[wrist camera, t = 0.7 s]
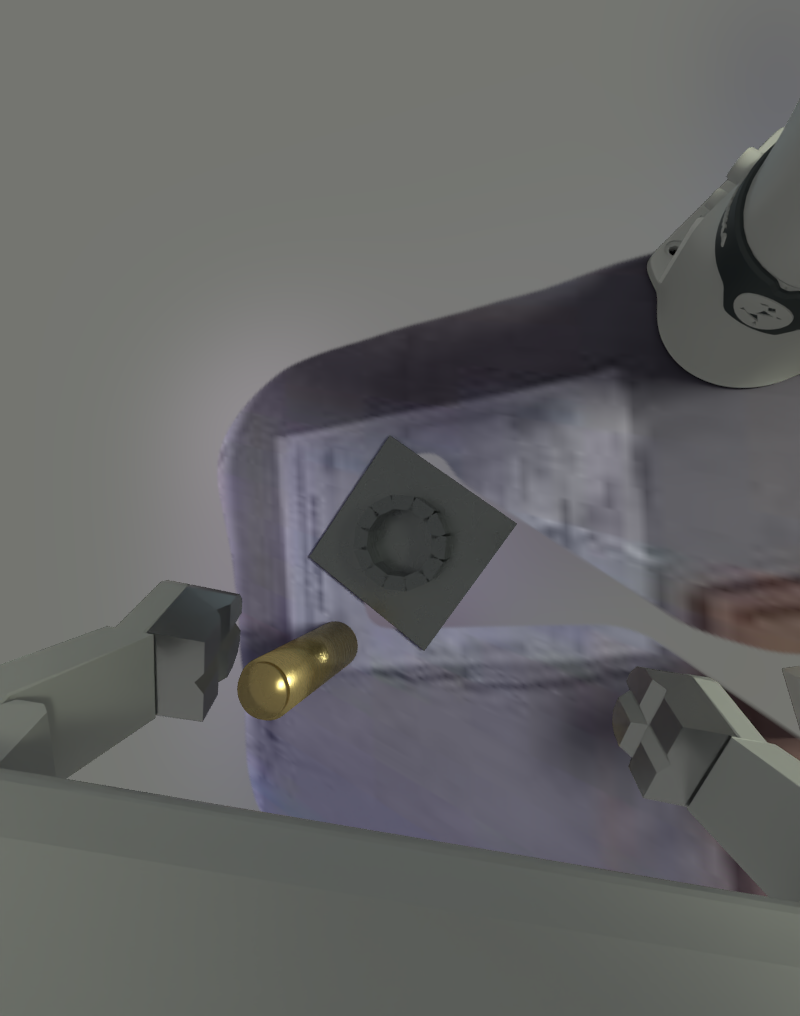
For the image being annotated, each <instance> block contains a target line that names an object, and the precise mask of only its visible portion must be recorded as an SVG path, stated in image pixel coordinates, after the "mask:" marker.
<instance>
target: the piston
mask: <svg viewBox="0 0 800 1016" xmlns="http://www.w3.org/2000/svg"><path fill="white" fill-rule="evenodd" d="M357 648H358V644H357V639H356V636H355V634H354V632H353V631H352V630H351V628H350V627H348V626H347V625H346V624H344V623H341V622H336V621H335V622H329V623H327V624H325V625H323V626H321V627H319V628H317V629H315V630H313V631H311V632H309V633H307V634H305V635H303V636H301V637H299V638H297V639H294V640H292V641H290V642H288V643H286V644H284V645H282V646H280V647H278V648H276V649H274V650H272V651H270V652H268V653H266V654H264V655H262V656H260V657H258V658H256V659H254V660H252V661H251V662H249V663H248V664H247V665H246V666H245V668H244V669H243V671H242V673H241V675H240V678H239V682H238V688H237V690H238V697H239V700H240V703H241V704H242V707H243V708H244V709H245V711H246V712H247V713H248V714H250V715H251V716H253V717H255V718H257V719H262V720H275V719H278V718H280V717H281V716H283V715H284V714H285V713H287V712H288V711H289V710H290V709H292V708H293V707H294V706H296V705H297V704H298V703H299V702H301V701H302V700H303V699H305V698H306V697H307V696H308V695H310V694H311V693H312V692H314V691H315V690H316V689H317V688H319V687H320V686H321V685H323V684H324V683H325V682H327V681H328V680H329V679H330V678H332V677H333V676H334V675H336V674H337V673H338V672H339V671H341V670H342V669H343V668H345V667H346V666H347V665H348V664H350V663H351V662H352V661H353V659H354V658H355V656H356V653H357Z"/></svg>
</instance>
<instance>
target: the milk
mask: <svg viewBox="0 0 800 1016" xmlns="http://www.w3.org/2000/svg"><path fill="white" fill-rule="evenodd" d="M782 671H783V675H784V678H785V681H786V685H787V688H788V691H789V695H790V698H791V701H792V705H793V708H794V711H795V715H796V718H797V722H798V725H799V728H800V666H796V667H788V668H783V669H782Z"/></svg>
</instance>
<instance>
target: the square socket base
mask: <svg viewBox="0 0 800 1016" xmlns="http://www.w3.org/2000/svg"><path fill="white" fill-rule="evenodd" d="M516 524H517V523H515V522H514V521H512V520H511V519H509V518H508V517H506V516H505V515H504V514H502V513H501V512H499V511H498V510H496V509H495V508H494V507H492V506H491V505H489V504H488V503H486V502H485V501H483V500H482V499H481V498H479V497H478V496H476V495H475V494H473V493H472V492H470V491H469V490H467V489H466V488H464V487H463V486H462V485H460V484H459V483H458V482H456V481H455V480H453V479H452V478H450V477H449V476H447V475H446V474H444V473H443V472H441V471H440V470H439V469H437V468H436V467H434V466H433V465H431V464H430V463H428V462H427V461H426V460H424V459H423V458H421V457H420V456H419V455H417V454H416V453H414V452H413V451H411V450H410V449H408V448H407V447H406V446H404V445H403V444H401V443H400V442H398V441H397V440H395V439H394V438H393V437H391V436H389V437H388V439H387V440H386V442H385V443H384V445H383V446H382V448H381V450H380V451H379V453H378V454H377V456H376V457H375V459H374V460H373V462H372V463H371V465H370V466H369V468H368V469H367V471H366V472H365V474H364V475H363V477H362V478H361V480H360V481H359V483H358V484H357V486H356V487H355V489H354V490H353V492H352V493H351V495H350V496H349V498H348V499H347V501H346V502H345V504H344V505H343V507H342V508H341V510H340V511H339V513H338V514H337V516H336V518H335V519H334V521H333V522H332V524H331V525H330V527H329V528H328V530H327V531H326V533H325V534H324V536H323V537H322V539H321V540H320V542H319V543H318V545H317V546H316V548H315V549H314V551H313V552H312V554H311V555H310V558H311V559H312V560H314V561H315V562H316V563H317V564H319V565H320V566H321V567H322V568H324V569H325V570H326V571H327V572H328V573H330V574H331V575H332V576H333V577H335V578H336V579H337V580H338V581H339V582H341V583H342V584H343V585H344V586H346V587H347V588H348V589H349V590H350V591H352V592H353V593H354V594H355V595H357V596H358V597H359V598H360V599H362V600H363V601H364V602H365V603H366V604H368V605H369V606H370V607H371V608H373V609H374V610H375V611H376V612H377V613H379V614H380V615H381V616H382V617H384V618H385V619H386V620H387V621H388V622H390V623H391V624H392V625H393V626H395V627H396V628H397V629H398V630H400V631H401V632H402V633H403V634H404V635H406V636H407V637H408V638H409V639H411V640H412V641H413V642H414V643H415V644H417V645H418V646H419V647H420V648H422V649H423V650H425V649H426V648H427V646H428V645H429V644H430V642H431V641H432V640H433V638H434V637H435V635H436V634H437V633H438V631H439V630H440V629H441V627H442V626H443V625H444V623H445V622H446V620H447V619H448V617H449V616H450V615H451V614H452V612H453V611H454V609H455V608H456V607H457V605H458V604H459V603H460V601H461V600H462V599H463V597H464V596H465V594H466V593H467V592H468V590H469V589H470V588H471V586H472V585H473V583H474V582H475V581H476V579H477V578H478V577H479V575H480V574H481V572H482V571H483V570H484V568H485V567H486V566H487V564H488V563H489V562H490V560H491V559H492V557H493V556H494V555H495V553H496V552H497V551H498V549H499V548H500V546H501V545H502V544H503V542H504V541H505V539H506V538H507V537H508V535H509V534H510V533H511V531H512V530H513V529H514V527H515V526H516Z"/></svg>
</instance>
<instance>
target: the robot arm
mask: <svg viewBox="0 0 800 1016" xmlns="http://www.w3.org/2000/svg"><path fill="white" fill-rule="evenodd" d="M727 178H728V179H727V181H726V182H724V183H723V184H722V185H721V186H720V187H719V188H718V189H717V190H716V191H715V192H714V193H713V194H712V195H711V196H710V197H709V198H708V199H707V200H706V201H705V202H704V203H703V204H702V205H701V207H699V208H698V209H697V210H696V211H695V212H694V213H693V214H692V215H691V216H690V217H689V218H688V219H687V220H686V221H685V222H684V223H683V224H682V225H681V226H680V227H679V228H678V229H677V230H676V231H675V232H674V233H673V234H672V235H671V236H670V237H669V238H668V239H667V240H666V241H665V242H664V243H663V244H662V245H661V246H660V247H659V248H658V249H657V250H656V251H655V252H654V253H653V254H652V256H651V257H650V259H649V260H648V263H647V272H648V275H649V278H650V280H651V282H652V284H653V286H654V288H655V290H656V293H657V323H658V329H659V333H660V336H661V339H662V341H663V344H664V345H665V347H666V349H667V351H668V352H669V354H670V355H671V356H672V358H673V359H674V360H675V361H676V362H677V363H678V364H679V365H680V366H681V367H683V368H684V369H685V370H686V371H688V372H689V373H691V374H692V375H694V376H696V377H698V378H700V379H702V380H704V381H707V382H710V383H713V384H717V385H721V386H726V387H735V388H751V387H760V386H766V385H770V384H774V383H778V382H781V381H784V380H786V379H789V378H791V377H794V376H796V375H799V374H800V100H799V101H798V103H797V105H796V107H795V109H794V111H793V113H792V115H791V117H790V118H789V120H788V122H787V124H786V126H785V127H783V128H781V129H779V130H778V131H777V132H775V133H774V134H773V135H772V136H771V137H770V138H769V139H768V140H767V141H766V142H765V143H764V144H763V145H762V146H761V147H760V148H759V149H758V150H757V149H755V148H754V147H753V148H751V147H750V148H748V149H747V150H746V151H745V152H744V153H743V154H742V156H741V157H740V158H739V159H738V160H737V162H736V163H735V164H734V165H733V167H732V168H731V170H730V171H729V173H728V175H727ZM670 250H675V251H676V253H675V254H674V255H671V254H670V253H669V251H670ZM241 613H242V598H241V596H240V594H236V593H231V592H226V591H221V590H216V589H211V588H206V587H201V586H196V585H190V584H186V583H180V582H175V581H169V580H166V581H162V582H160V583H159V584H158V585H157V586H156V587H155V588H154V589H153V590H152V591H151V592H150V593H149V594H148V595H147V596H146V597H145V598H144V599H143V600H142V601H141V602H140V603H139V604H138V605H137V606H136V607H135V608H134V609H133V610H132V611H131V612H130V613H129V614H128V615H127V616H126V617H125V618H124V619H123V620H122V621H121V622H120V623H119V624H118V625H117V626H116V627H115V628H114V627H108V626H106V627H103V628H101V629H98V630H95V631H92V632H90V633H87V634H84V635H81V636H79V637H76V638H73V639H70V640H67V641H65V642H62V643H59V644H57V645H54V646H51V647H48V648H45V649H43V650H40V651H37V652H35V653H32V654H29V655H26V656H23V657H21V658H18V659H15V660H12V661H10V662H7V663H4V664H2V665H0V1016H800V761H799V760H797V759H796V758H794V757H793V756H792V755H790V754H789V753H787V752H786V751H784V750H783V749H781V748H780V747H778V746H777V745H775V744H770V743H767V742H766V741H765V739H764V738H763V737H762V736H761V734H760V733H759V732H758V731H757V730H756V728H755V727H754V726H753V725H752V723H751V722H750V721H749V720H748V718H747V717H746V716H745V715H744V714H743V712H742V711H741V710H740V709H739V707H738V706H737V705H736V704H735V703H734V701H733V700H732V699H731V698H730V696H729V695H728V694H727V693H726V691H725V690H724V689H723V688H722V687H721V685H720V684H719V683H718V682H717V681H715V680H713V679H712V678H710V677H703V676H696V675H690V674H679V673H673V672H667V671H661V670H655V669H650V668H644V667H638V666H637V667H636V668H635V669H633V670H632V671H631V673H630V675H629V677H628V679H627V681H626V682H627V685H628V688H629V690H630V691H628V692H627V693H625V694H624V695H622V696H620V697H619V698H618V700H617V702H616V705H615V707H614V710H613V721H612V725H613V730H614V735H615V737H616V740H617V742H618V744H619V746H620V747H621V748H622V749H623V750H624V751H625V752H626V753H627V754H628V755H629V756H631V760H630V763H629V768H630V771H631V773H632V775H633V777H634V779H635V781H636V784H637V786H638V788H639V790H640V792H641V794H642V797H643V798H646V799H651V800H656V801H661V802H666V803H671V804H676V805H681V806H685V807H688V808H687V810H688V811H689V812H690V813H691V814H692V815H693V816H694V817H695V818H696V819H697V820H698V821H699V822H700V824H701V825H702V826H703V827H704V828H705V829H706V830H707V831H708V832H709V833H710V834H711V835H712V836H713V837H714V839H715V840H716V841H717V842H718V843H719V844H720V845H721V846H722V847H723V848H724V849H725V850H726V851H727V853H728V854H729V855H730V856H731V857H732V858H733V859H734V860H735V861H736V862H737V863H738V864H739V865H740V867H741V868H742V869H743V870H744V871H745V872H746V873H747V874H748V875H749V876H750V877H751V878H752V879H753V880H754V882H755V883H756V884H757V885H758V886H759V887H760V888H761V889H762V890H763V891H764V892H765V893H766V894H767V896H768V897H765V896H759V895H754V894H748V893H742V892H736V891H730V890H724V889H718V888H712V887H706V886H700V885H694V884H688V883H682V882H676V881H670V880H664V879H658V878H653V877H647V876H641V875H635V874H629V873H623V872H617V871H611V870H605V869H599V868H593V867H587V866H582V865H576V864H570V863H564V862H558V861H552V860H546V859H540V858H534V857H528V856H522V855H516V854H510V853H504V852H498V851H492V850H486V849H481V848H475V847H469V846H463V845H457V844H451V843H445V842H439V841H433V840H427V839H421V838H415V837H409V836H403V835H397V834H391V833H385V832H379V831H373V830H367V829H361V828H355V827H349V826H343V825H338V824H332V823H326V822H320V821H314V820H308V819H302V818H296V817H290V816H284V815H278V814H272V813H266V812H260V811H254V810H248V809H242V808H236V807H230V806H224V805H218V804H212V803H206V802H201V801H195V800H189V799H182V798H177V797H170V796H165V795H159V794H153V793H147V792H141V791H135V790H129V789H123V788H117V787H111V786H105V785H99V784H94V783H88V782H81V781H75V780H69V779H66V778H68V777H69V776H71V775H72V774H74V773H75V772H77V771H78V770H79V769H81V768H82V767H84V766H85V765H87V764H88V763H90V762H91V761H93V760H94V759H96V758H97V757H98V756H100V755H102V754H103V753H105V752H106V751H108V750H109V749H110V748H112V747H113V746H115V745H116V744H118V743H119V742H121V741H122V740H124V739H125V738H127V737H128V736H129V735H131V734H132V733H134V732H135V731H137V730H138V729H140V728H141V727H143V726H144V725H146V724H147V723H149V722H150V721H152V720H153V719H154V718H155V715H158V716H165V717H173V718H180V719H186V720H193V721H200V722H203V720H204V718H205V717H206V715H207V713H208V711H209V709H210V708H211V706H212V704H213V702H214V700H215V699H216V697H217V695H218V682H220V681H221V680H223V679H225V678H226V677H227V676H228V675H229V673H230V671H231V669H232V667H233V664H234V661H235V658H236V655H237V652H238V647H239V642H240V631H241V630H240V629H239V627H238V626H237V625H236V621H237V619H238V618H239V616H240V614H241Z"/></svg>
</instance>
